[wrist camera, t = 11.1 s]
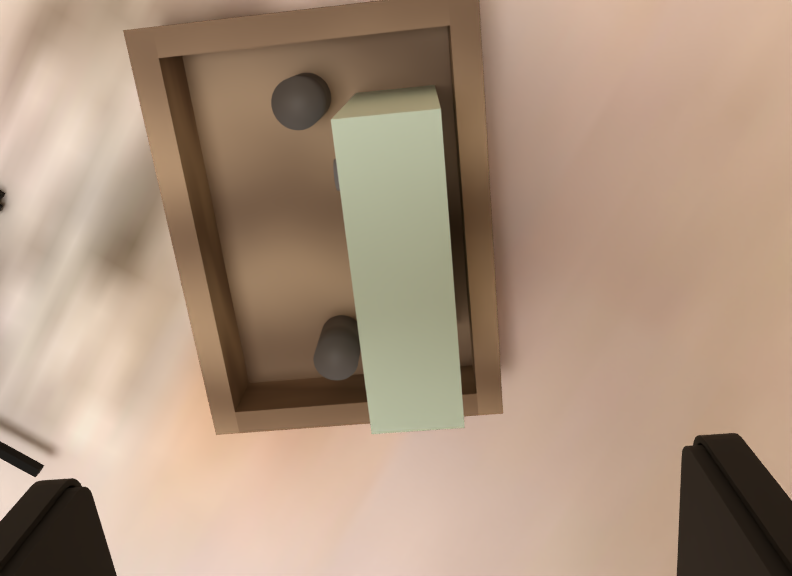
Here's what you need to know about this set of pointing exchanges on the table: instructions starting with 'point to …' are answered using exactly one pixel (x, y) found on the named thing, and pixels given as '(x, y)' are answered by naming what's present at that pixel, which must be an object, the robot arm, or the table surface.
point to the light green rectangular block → (400, 256)
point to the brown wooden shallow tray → (305, 196)
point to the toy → (13, 455)
